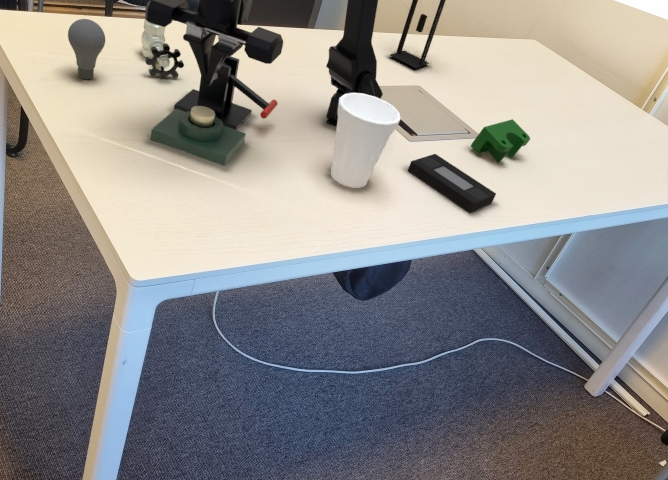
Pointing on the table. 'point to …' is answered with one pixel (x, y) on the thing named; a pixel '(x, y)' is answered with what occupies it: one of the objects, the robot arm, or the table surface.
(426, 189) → the table surface
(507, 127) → the clamp
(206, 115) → the button
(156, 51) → the valve
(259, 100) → the lever
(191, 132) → the button box
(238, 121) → the bracket
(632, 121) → the table surface
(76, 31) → the light bulb
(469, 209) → the vhs tape
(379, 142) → the cup
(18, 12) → the table surface
